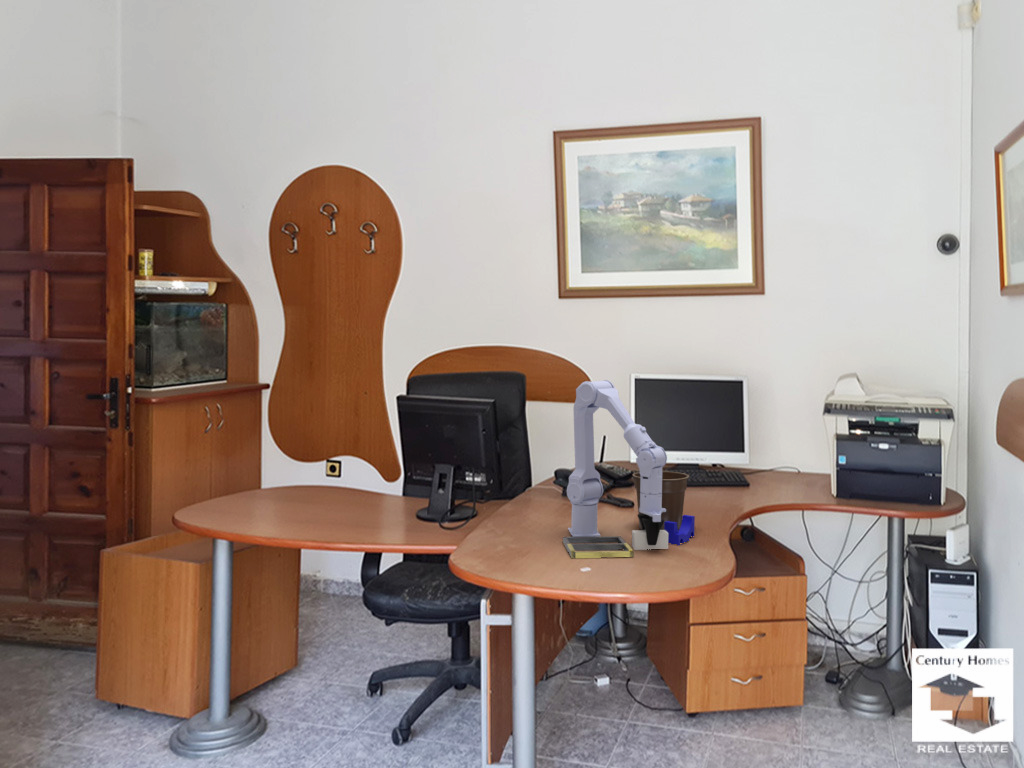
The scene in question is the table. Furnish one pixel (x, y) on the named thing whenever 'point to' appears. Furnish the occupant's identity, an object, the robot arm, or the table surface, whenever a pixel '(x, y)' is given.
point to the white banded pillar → (641, 540)
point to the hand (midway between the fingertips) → (650, 543)
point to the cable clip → (680, 530)
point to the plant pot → (668, 496)
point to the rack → (597, 547)
